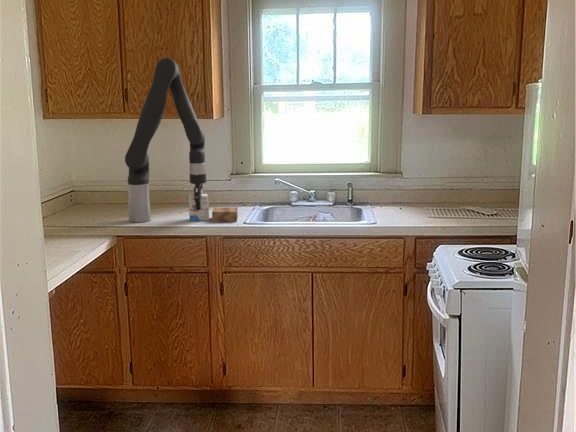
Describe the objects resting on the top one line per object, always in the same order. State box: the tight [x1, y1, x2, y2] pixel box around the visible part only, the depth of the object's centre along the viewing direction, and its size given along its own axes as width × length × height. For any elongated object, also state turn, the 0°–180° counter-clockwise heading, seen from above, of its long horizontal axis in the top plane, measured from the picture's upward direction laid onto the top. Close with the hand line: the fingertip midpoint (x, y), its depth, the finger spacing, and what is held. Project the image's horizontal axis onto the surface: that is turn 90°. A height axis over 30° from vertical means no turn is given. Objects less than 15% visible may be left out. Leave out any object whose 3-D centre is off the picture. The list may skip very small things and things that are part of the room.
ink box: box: [188, 193, 210, 222], centre depth 267 cm, size 9×5×12 cm, turn 105°
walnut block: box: [211, 206, 239, 223], centre depth 268 cm, size 11×11×5 cm
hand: (199, 208), depth 267 cm, fingers open, 7 cm apart
